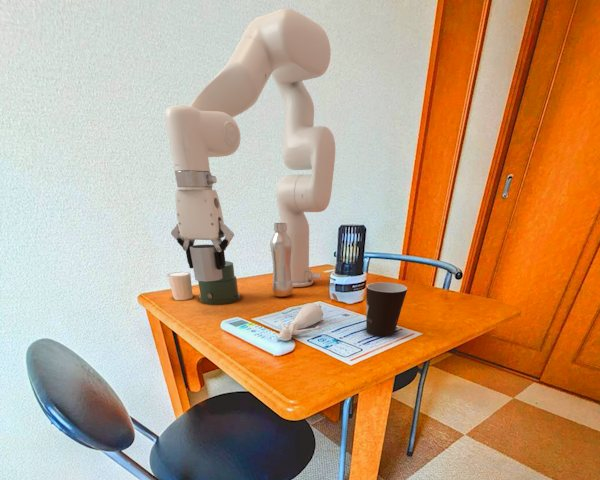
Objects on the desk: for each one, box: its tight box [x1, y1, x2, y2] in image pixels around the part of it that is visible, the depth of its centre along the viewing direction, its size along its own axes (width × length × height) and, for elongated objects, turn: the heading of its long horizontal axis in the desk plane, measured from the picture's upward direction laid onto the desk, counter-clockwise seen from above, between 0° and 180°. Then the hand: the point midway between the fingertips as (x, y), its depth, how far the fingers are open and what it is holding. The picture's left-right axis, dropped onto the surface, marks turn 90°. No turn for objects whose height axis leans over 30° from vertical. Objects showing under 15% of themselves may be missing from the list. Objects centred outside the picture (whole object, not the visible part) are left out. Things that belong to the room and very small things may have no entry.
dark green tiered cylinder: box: [197, 260, 241, 306], centre depth 93 cm, size 12×12×10 cm
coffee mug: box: [365, 281, 408, 338], centre depth 71 cm, size 12×9×10 cm
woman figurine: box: [277, 302, 324, 342], centre depth 73 cm, size 12×4×18 cm
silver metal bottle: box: [269, 222, 294, 298], centre depth 92 cm, size 6×7×20 cm
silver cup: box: [190, 244, 222, 282], centre depth 78 cm, size 7×7×8 cm
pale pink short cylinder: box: [166, 271, 194, 301], centre depth 95 cm, size 7×7×7 cm
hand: (207, 267), depth 79 cm, fingers closed on silver cup, 6 cm apart
